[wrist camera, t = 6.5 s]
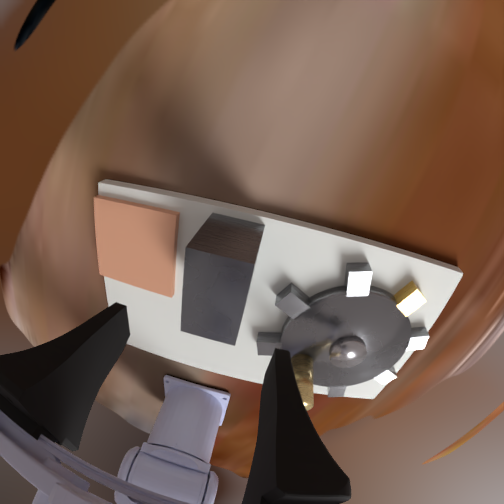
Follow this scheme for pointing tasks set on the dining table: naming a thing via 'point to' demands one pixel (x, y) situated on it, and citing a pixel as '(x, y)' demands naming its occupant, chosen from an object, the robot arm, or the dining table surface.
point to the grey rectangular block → (219, 277)
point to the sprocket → (345, 332)
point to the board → (263, 282)
